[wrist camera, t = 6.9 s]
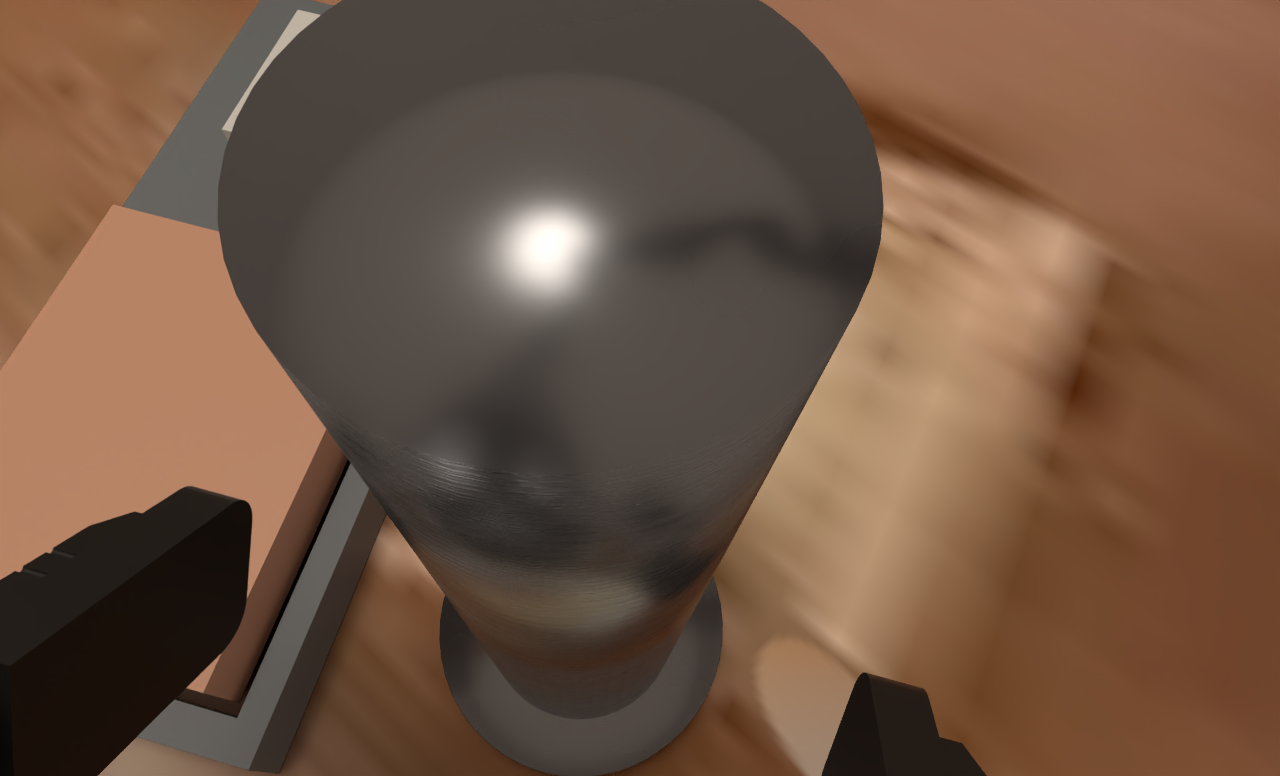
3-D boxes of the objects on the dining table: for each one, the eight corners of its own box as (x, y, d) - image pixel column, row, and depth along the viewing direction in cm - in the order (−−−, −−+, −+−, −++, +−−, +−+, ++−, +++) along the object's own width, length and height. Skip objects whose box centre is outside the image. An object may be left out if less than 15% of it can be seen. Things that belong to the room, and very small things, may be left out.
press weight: (739, 542, 23) (1079, -52, 7) (680, 813, 20) (1034, 869, 4) (499, 478, 24) (299, -222, 7) (408, 733, 21) (-251, 496, 4)
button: (411, 316, 24) (397, 277, 22) (238, 702, 19) (202, 692, 18) (148, 248, 25) (113, 204, 23) (-81, 608, 20) (-148, 589, 18)
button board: (556, 102, 30) (553, 57, 28) (278, 772, 20) (247, 770, 18) (286, 37, 30) (267, -10, 29) (-105, 657, 21) (-171, 644, 19)
